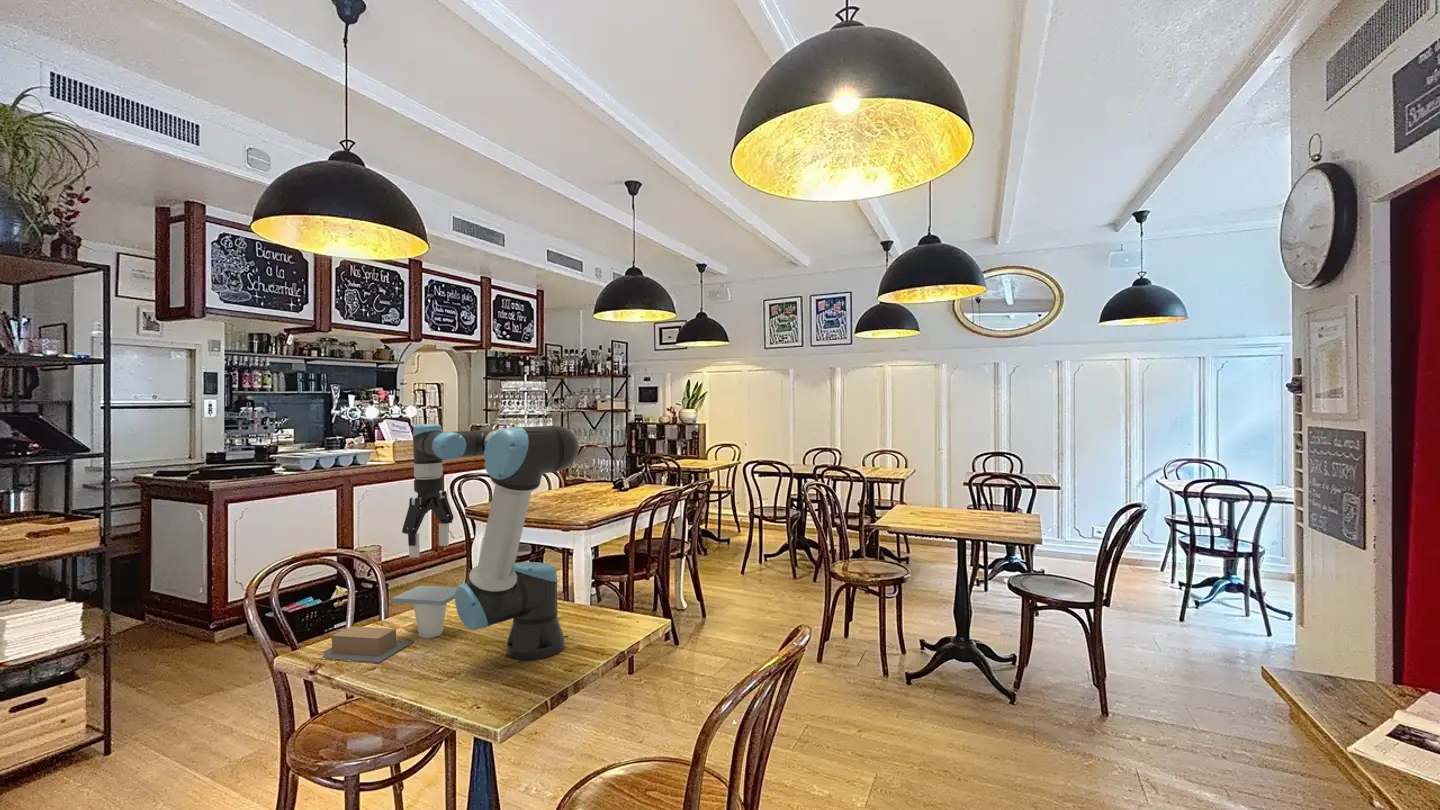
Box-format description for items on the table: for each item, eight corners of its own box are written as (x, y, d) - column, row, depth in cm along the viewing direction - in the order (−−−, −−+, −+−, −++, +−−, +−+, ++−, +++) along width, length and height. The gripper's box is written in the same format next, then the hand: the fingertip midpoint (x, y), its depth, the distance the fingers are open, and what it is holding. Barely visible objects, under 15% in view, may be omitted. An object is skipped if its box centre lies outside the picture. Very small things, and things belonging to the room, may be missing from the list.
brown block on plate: (414, 642, 177) (414, 624, 177) (379, 663, 163) (378, 644, 163) (351, 638, 181) (351, 621, 181) (311, 658, 167) (311, 639, 167)
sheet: (467, 592, 187) (467, 588, 187) (442, 605, 176) (442, 601, 175) (418, 589, 190) (418, 585, 190) (391, 602, 178) (391, 598, 178)
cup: (439, 641, 178) (439, 602, 178) (405, 641, 178) (404, 602, 178) (455, 628, 188) (454, 591, 188) (422, 628, 188) (421, 591, 188)
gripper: (442, 472, 195) (443, 540, 196) (386, 483, 171) (388, 561, 171) (464, 472, 194) (466, 541, 194) (411, 483, 169) (413, 562, 170)
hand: (429, 551), depth 183 cm, fingers open, 13 cm apart
